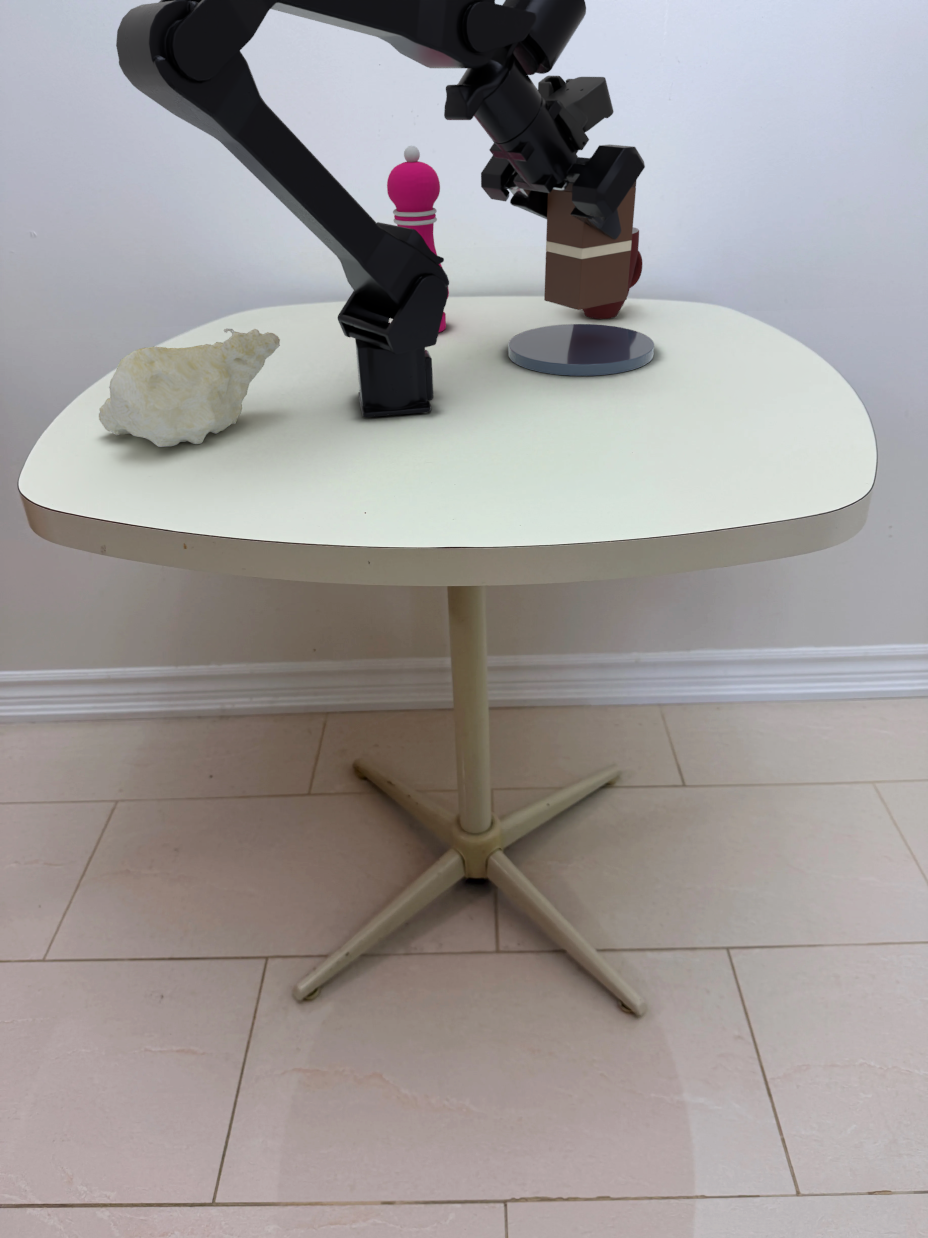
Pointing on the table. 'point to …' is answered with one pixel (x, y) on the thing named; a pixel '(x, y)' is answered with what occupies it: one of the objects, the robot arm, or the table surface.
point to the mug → (634, 275)
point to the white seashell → (184, 388)
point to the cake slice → (585, 255)
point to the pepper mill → (415, 198)
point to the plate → (581, 349)
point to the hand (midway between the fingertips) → (598, 231)
